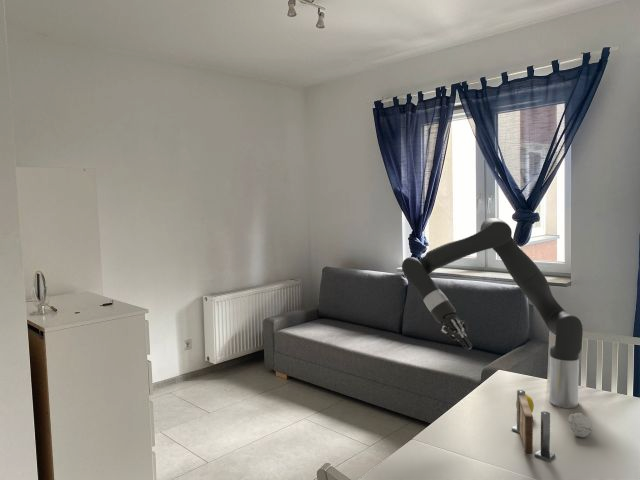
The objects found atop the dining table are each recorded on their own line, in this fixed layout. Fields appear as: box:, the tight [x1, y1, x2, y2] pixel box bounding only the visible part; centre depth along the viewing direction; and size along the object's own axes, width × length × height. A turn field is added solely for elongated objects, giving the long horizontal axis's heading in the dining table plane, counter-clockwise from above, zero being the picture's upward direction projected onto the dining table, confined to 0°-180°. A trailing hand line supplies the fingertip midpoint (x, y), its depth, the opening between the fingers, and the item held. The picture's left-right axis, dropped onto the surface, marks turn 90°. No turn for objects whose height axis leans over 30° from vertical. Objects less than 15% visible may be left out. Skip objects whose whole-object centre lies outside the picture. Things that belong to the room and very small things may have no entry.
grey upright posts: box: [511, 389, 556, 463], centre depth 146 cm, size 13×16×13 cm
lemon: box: [515, 393, 535, 414], centre depth 163 cm, size 6×6×8 cm
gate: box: [518, 395, 534, 456], centre depth 144 cm, size 15×2×11 cm, turn 164°
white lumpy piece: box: [568, 412, 593, 438], centre depth 149 cm, size 6×7×7 cm
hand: (469, 348), depth 158 cm, fingers closed
